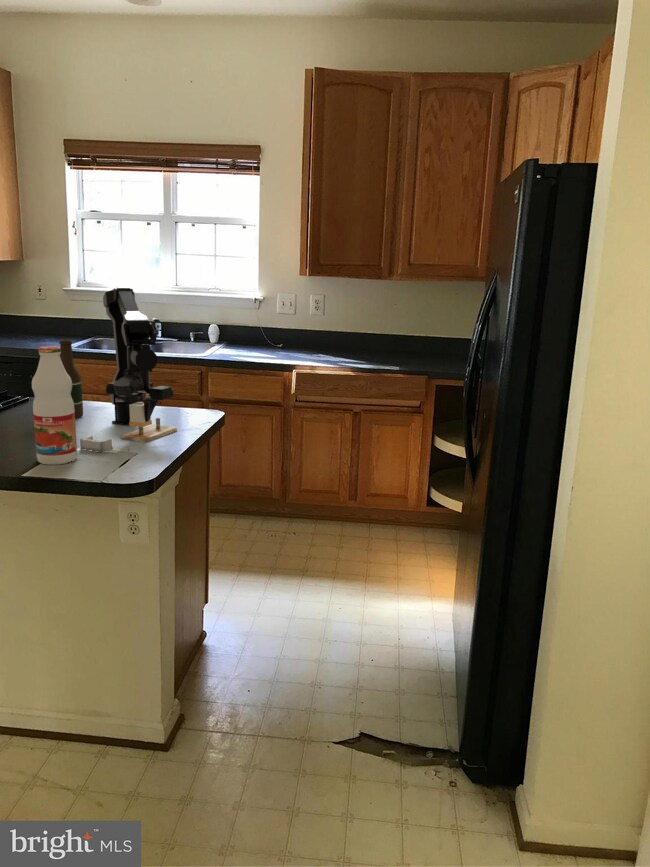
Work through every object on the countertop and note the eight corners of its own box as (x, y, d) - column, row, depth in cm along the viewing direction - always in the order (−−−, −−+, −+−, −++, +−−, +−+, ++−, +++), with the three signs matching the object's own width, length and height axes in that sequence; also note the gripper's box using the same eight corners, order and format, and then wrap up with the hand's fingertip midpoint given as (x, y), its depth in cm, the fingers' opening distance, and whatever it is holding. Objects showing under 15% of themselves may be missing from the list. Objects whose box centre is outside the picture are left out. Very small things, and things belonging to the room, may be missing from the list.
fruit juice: (83, 455, 176) (77, 345, 169) (67, 466, 166) (59, 350, 160) (48, 453, 176) (40, 344, 169) (29, 464, 167) (20, 348, 160)
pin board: (121, 439, 192) (121, 425, 191) (154, 427, 206) (153, 414, 205) (145, 442, 189) (145, 428, 188) (176, 430, 203) (176, 417, 202)
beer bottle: (88, 416, 218) (84, 339, 212) (68, 420, 211) (62, 342, 205) (72, 412, 222) (67, 337, 216) (51, 416, 215) (46, 339, 209)
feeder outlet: (80, 449, 181) (80, 439, 180) (91, 445, 185) (90, 435, 184) (102, 452, 178) (101, 442, 178) (112, 449, 182) (111, 438, 181)
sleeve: (129, 425, 192) (128, 404, 190) (139, 422, 196) (138, 401, 194) (142, 427, 190) (141, 406, 189) (151, 424, 194) (151, 403, 193)
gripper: (90, 366, 185) (94, 422, 189) (149, 372, 178) (151, 430, 182) (117, 360, 195) (120, 414, 199) (173, 366, 188) (175, 422, 192)
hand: (140, 420), depth 193 cm, fingers closed on sleeve, 4 cm apart
